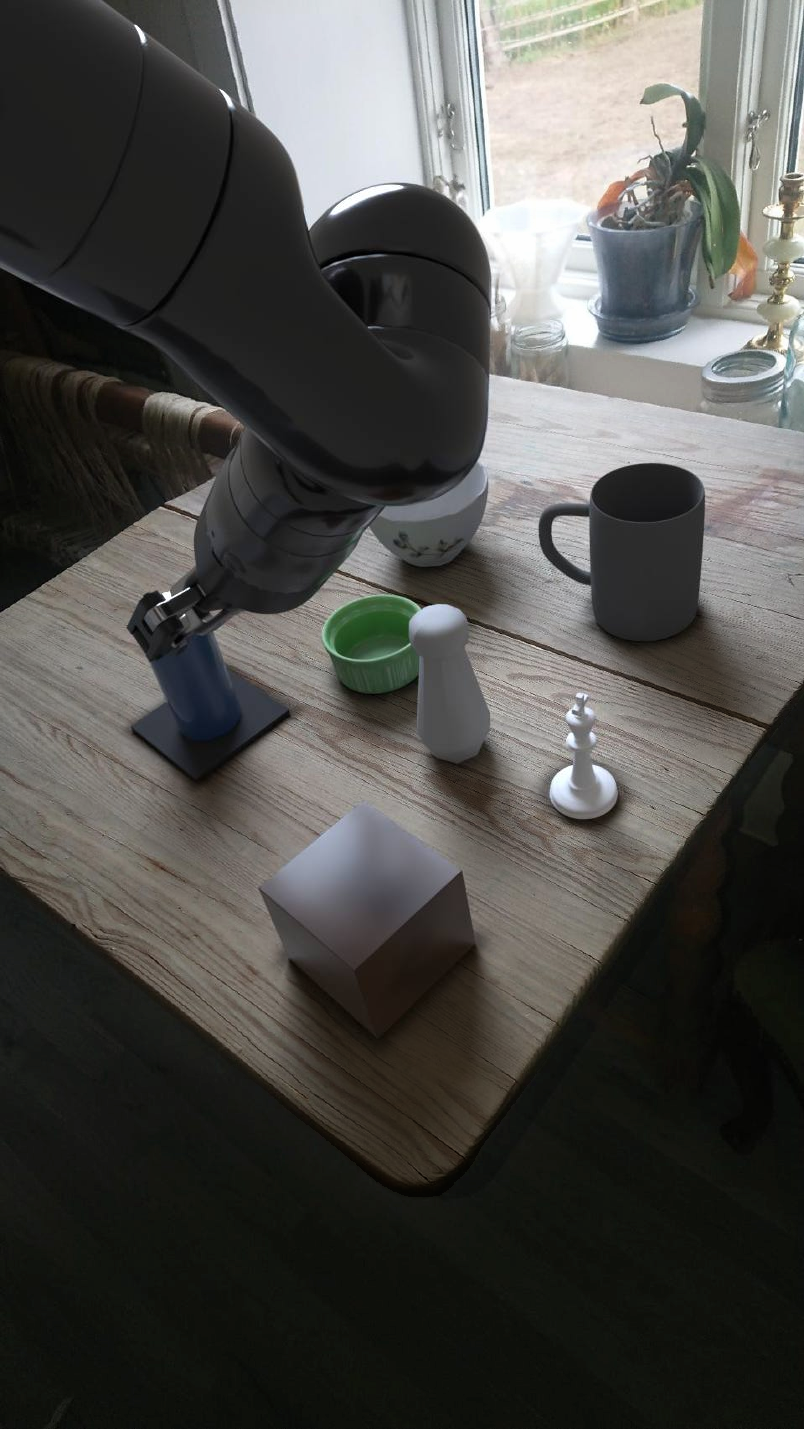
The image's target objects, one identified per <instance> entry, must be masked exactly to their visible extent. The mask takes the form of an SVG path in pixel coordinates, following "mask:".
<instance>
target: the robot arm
mask: <svg viewBox="0 0 804 1429" xmlns="http://www.w3.org/2000/svg"><path fill="white" fill-rule="evenodd" d="M297 172H298V171H297V169H296V166H295V164H294V162H293V159H292V157H291V155H290V153H289V152H288V150H287V149H286V147H285V146H284V143H283V142H282V141H281V140H280V139H279V138H278V136H277V135H276V134H275V133H274V132H273V131H272V130H271V129H270V128H269V127H268V126H267V125H265V123H263V122H262V121H261V120H260V118H258V117H257V116H256V115H254V114H253V113H252V112H251V111H250V110H248V109H247V108H246V107H244V106H243V105H242V104H241V103H240V102H238V101H236V100H235V99H234V98H233V97H232V96H230V95H229V94H228V93H226V92H225V91H224V90H222V89H221V88H219V87H218V86H217V85H216V84H214V83H213V82H212V81H210V80H209V79H208V78H206V77H205V76H204V75H203V74H201V72H198V70H197V69H195V68H193V67H192V66H191V65H190V64H188V63H186V61H184V60H183V59H181V58H180V57H179V56H177V55H176V54H175V53H173V52H172V51H171V50H169V49H168V48H167V47H166V46H164V45H163V44H162V43H160V42H159V41H157V40H156V39H155V38H154V37H153V36H151V35H150V34H148V33H147V32H146V31H144V30H143V29H142V28H140V27H139V26H138V25H136V24H135V23H134V22H132V21H131V20H129V19H128V18H127V17H126V16H124V15H123V14H121V13H120V12H118V10H115V9H114V8H113V7H112V6H111V5H109V4H108V3H106V2H105V1H104V0H0V269H2V270H4V271H6V272H8V273H10V274H12V275H14V276H15V277H17V278H19V279H21V280H22V281H25V282H28V283H29V284H32V285H34V286H36V287H37V288H40V289H41V290H43V291H45V292H47V293H49V294H51V295H53V296H55V297H57V298H59V299H61V300H62V301H65V302H67V303H69V304H71V305H73V306H75V307H77V308H79V309H81V310H83V311H84V312H87V313H89V314H91V315H93V316H95V317H96V318H99V319H101V321H102V320H103V321H104V322H107V323H109V324H110V325H112V326H115V327H116V328H118V329H120V330H122V331H124V332H126V333H128V334H130V335H132V336H134V337H136V338H138V339H140V340H143V341H144V342H146V343H148V344H149V345H152V346H153V347H154V348H155V349H156V350H158V351H159V352H160V353H161V354H162V355H164V356H165V357H166V358H167V359H168V360H169V361H170V362H172V363H173V364H174V365H175V366H176V367H177V368H178V369H179V370H180V371H181V372H182V373H183V374H184V375H185V376H186V377H187V378H188V379H189V380H191V381H192V382H193V383H194V384H195V385H196V386H197V387H198V388H200V389H201V391H203V392H204V393H205V394H207V395H208V396H209V397H210V398H211V399H212V400H214V401H215V402H216V403H217V404H218V405H220V406H221V407H222V408H223V409H224V410H225V411H226V412H227V413H228V414H229V415H231V416H232V417H233V418H234V419H235V420H236V421H237V422H239V424H240V425H242V426H243V429H242V431H241V433H240V436H239V438H238V440H237V443H236V445H235V446H234V447H233V448H232V449H231V451H230V452H229V453H228V454H227V456H226V457H225V458H224V460H223V462H222V464H221V466H220V468H219V469H218V472H217V474H216V476H215V479H214V481H213V483H212V486H211V488H210V491H209V493H208V495H207V497H206V500H205V502H204V504H203V507H202V509H201V511H200V514H199V516H198V518H197V521H196V524H195V526H194V527H195V528H194V532H193V552H194V561H195V565H194V567H192V568H191V569H190V570H189V571H188V572H186V573H185V574H184V575H183V576H182V577H180V579H178V580H177V581H175V583H174V584H172V585H171V586H170V589H169V592H170V594H171V598H170V599H168V600H166V599H165V597H164V596H163V594H162V593H163V592H160V591H159V590H158V589H156V590H155V589H154V590H153V591H151V590H150V591H148V592H146V593H144V594H143V595H142V597H141V598H140V599H139V601H138V602H137V604H136V606H135V609H134V611H133V613H132V615H131V616H130V618H129V621H128V623H127V625H126V627H125V628H126V630H127V631H128V632H129V634H130V635H132V637H133V638H134V640H135V642H137V644H138V645H139V647H140V649H141V650H142V652H143V653H144V656H145V657H146V659H147V661H148V660H149V661H148V663H149V662H152V661H154V660H156V661H158V660H160V659H161V658H162V657H164V656H163V655H166V654H168V653H169V652H170V653H171V654H172V656H174V657H175V656H177V655H179V654H180V653H182V652H184V650H185V649H186V647H187V645H188V644H189V642H190V640H191V639H192V638H193V637H195V636H196V635H197V634H198V635H201V636H203V635H206V634H208V633H211V632H215V631H218V629H219V628H221V627H222V626H223V625H225V624H226V623H227V622H229V621H230V620H231V619H232V618H233V617H235V616H237V615H240V614H242V613H245V612H248V613H252V614H257V615H278V614H283V613H286V612H287V613H288V612H290V611H293V610H295V609H297V608H299V607H301V606H302V605H304V604H306V603H307V602H308V601H310V600H311V598H313V597H314V596H315V595H316V593H317V592H318V591H320V589H321V588H322V587H323V586H324V584H326V582H328V580H329V579H330V578H331V577H332V576H333V575H334V574H335V572H336V571H337V570H338V569H339V568H340V567H341V566H342V564H343V563H345V562H346V560H348V558H349V557H350V556H351V554H352V553H353V551H354V550H355V549H356V547H357V545H358V544H359V542H360V540H361V538H362V536H363V534H364V533H365V531H366V530H367V529H368V528H369V525H370V524H371V523H372V522H373V521H374V520H375V519H376V517H377V516H378V515H379V514H380V513H381V512H382V511H383V510H384V508H385V507H386V506H393V507H395V506H410V505H416V504H419V503H423V502H427V501H430V500H434V499H436V498H438V497H440V496H442V495H444V494H445V493H447V492H449V491H450V490H452V489H454V488H455V487H456V486H458V485H459V484H460V483H461V482H462V481H463V480H464V479H465V478H466V477H467V475H468V474H469V473H470V472H471V471H472V469H473V468H474V466H475V465H476V463H477V461H479V459H480V458H481V454H482V451H483V448H484V446H485V442H486V441H485V440H486V436H487V433H488V432H487V431H488V423H489V406H490V404H489V402H490V370H491V369H490V364H491V363H490V362H491V360H490V359H491V321H492V309H493V308H492V302H493V286H492V285H493V276H492V269H491V262H490V257H489V253H488V250H487V248H486V245H485V242H484V238H483V237H482V235H481V233H480V230H479V229H478V227H477V226H476V224H475V223H474V221H473V220H472V218H471V217H470V216H469V215H468V214H467V213H466V212H465V211H464V209H462V207H460V205H459V204H457V203H456V202H455V201H454V200H453V199H451V198H450V197H448V196H447V195H445V194H444V193H442V192H440V191H438V190H436V189H434V188H430V187H428V186H426V185H421V184H417V183H410V182H384V183H378V184H372V185H369V186H366V187H363V188H361V189H358V190H356V191H353V192H351V193H350V194H347V195H346V196H344V197H342V198H341V199H339V200H338V201H336V202H335V203H333V204H332V205H331V206H330V207H328V208H327V209H326V210H325V211H324V212H323V213H322V214H321V215H320V216H319V217H318V219H316V221H315V222H314V223H313V224H311V226H310V227H309V226H308V220H307V215H306V209H305V205H304V199H303V194H302V189H301V185H300V180H299V176H298V173H297ZM215 611H219V612H217V613H216V614H215V615H213V614H212V613H211V612H215ZM184 614H185V616H186V617H187V619H188V620H189V623H190V625H189V627H188V628H187V629H186V628H185V627H184V625H183V624H182V622H181V621H180V618H181V617H182V616H183V615H184Z"/></svg>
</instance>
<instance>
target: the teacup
mask: <svg viewBox="0 0 804 1429" xmlns="http://www.w3.org/2000/svg"><path fill="white" fill-rule="evenodd" d="M488 495H489V475H488V472H487V468H486V467H485V466H484V465H483V463H482V462H481V461H480V460H478V461H477V463H476V465H475V466H474V468H473V469H472V471H471V472H470V473H469V474H468V475H467V477H466V478H465V479H464V480H463V481H462V482H461V483H460V484H459V485H458V486H456V487H455V488H454V489H452V490H450V491H449V492H447V493H445V494H444V495H442V496H440V497H438V498H436V499H434V500H430V501H427V502H423V503H419V504H416V505H410V506H395V507H393V506H386V507H385V508H384V510H383V511H382V512H381V513H380V514H379V515H378V516H377V517H376V519H375V520H374V521H373V522H372V523H371V524H370V525H369V526H368V528H369V529H370V531H371V532H372V534H373V535H374V537H375V538H376V539H377V541H378V542H380V544H381V545H382V546H383V547H384V548H385V549H387V550H388V551H389V552H390V553H391V554H392V555H394V556H396V557H397V558H400V559H401V560H404V561H405V562H406V563H407V564H410V565H413V566H416V567H420V568H422V567H423V568H427V567H441V566H443V565H445V564H448V563H451V561H453V560H454V559H455V558H456V557H457V556H458V555H459V554H460V553H461V551H462V550H463V549H464V548H465V547H466V546H467V545H468V544H470V542H471V540H472V539H473V538H474V536H475V535H476V533H477V531H478V530H479V528H480V525H481V523H482V521H483V518H484V515H485V511H486V507H487V502H488Z"/></svg>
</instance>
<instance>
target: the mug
mask: <svg viewBox="0 0 804 1429" xmlns="http://www.w3.org/2000/svg"><path fill="white" fill-rule="evenodd" d="M563 516H564V517H582V518H583V517H584V518H588V522H589V525H588V528H589V529H588V530H589V532H588V535H589V569H590V570H589V571H586V570H583V569H581V568H580V567H578V566H576V565H575V564H573V563H572V562H571V561H569V560H568V559H567V558H566V557H565V556H564V555H563V554H562V553H561V552H560V551H559V550H558V549H557V548H556V546H555V544H554V541H553V522H554V520H555V519H556V518H557V517H563ZM705 517H706V490H705V486H704V484H703V482H702V480H701V479H700V478H699V476H697V474H694V473H693V472H691V471H690V470H688V469H687V468H683V467H681V466H678V465H673V464H669V463H663V462H643V463H641V462H640V463H634V464H629V465H624V466H621V467H618V468H616V469H613V470H611V471H609V472H607V473H606V474H604V475H602V476H601V477H600V478H599V479H597V481H596V482H595V483H594V484H593V486H592V488H591V491H590V495H589V503H579V502H578V503H577V502H576V503H575V502H573V503H572V502H567V503H566V502H565V503H555V504H551V505H549V506H547V507H546V508H545V509H544V510H543V511H542V513H541V515H540V517H539V520H538V540H539V547H540V550H541V551H542V554H543V555H544V557H545V558H546V559H547V561H548V562H549V563H550V564H551V565H552V566H554V568H556V569H557V570H558V571H559V572H561V573H562V574H563V575H565V576H566V577H567V578H569V579H571V580H573V581H575V582H576V583H579V584H581V585H586V586H590V594H591V607H592V612H593V617H594V619H595V620H596V622H597V624H598V625H599V626H600V627H601V628H602V629H603V630H604V631H606V632H607V633H608V634H610V635H612V636H614V637H617V638H620V639H622V640H627V641H633V642H654V641H656V642H657V641H661V640H665V639H668V638H671V637H674V636H676V635H678V634H679V633H681V632H683V631H684V630H685V629H687V627H689V625H691V623H692V622H693V620H694V619H695V617H696V614H697V610H698V605H699V597H700V588H701V576H702V565H703V564H702V563H703V552H704V551H703V550H704V536H705V535H704V534H705Z"/></svg>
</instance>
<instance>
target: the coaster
mask: <svg viewBox="0 0 804 1429" xmlns="http://www.w3.org/2000/svg"><path fill="white" fill-rule="evenodd" d="M227 670H228V673H229V675H230V678H231V681H232V684H233V686H234V689H235V692H236V694H237V697H238V700H239V702H240V705H241V709H242V713H241V717H240V720H239V721H238V723H237V724H236V726H235V727H234V728H233V729H232V730H230V731H229V732H228V733H226V734H224V735H223V736H221V737H218V738H215V739H212V740H207V741H195V740H190V739H188V738H186V737H184V736H183V735H182V734H181V733H180V731H179V729H178V727H177V724H176V722H175V720H174V718H173V715H172V713H171V711H170V708H169V706H168V704H167V702H166V701H165V702H164V703H162V704H161V705H159V706H158V707H156V708H155V709H153V710H152V711H151V712H149V713H148V714H146V715H145V716H143V717H142V718H141V719H139V720H137V721H136V722H135V723H133V724H131V726H130V728H131V730H132V731H133V732H134V733H136V734H137V735H138V736H140V738H142V739H143V740H144V741H145V742H147V743H148V744H149V745H151V747H153V748H154V749H155V750H157V751H158V752H159V753H160V754H161V755H163V756H164V757H165V758H167V760H169V761H170V762H171V763H173V765H175V766H176V767H178V769H179V770H181V771H182V772H184V773H185V774H186V775H188V776H189V777H190V778H191V779H192V780H194V781H195V782H196V783H198V782H199V781H201V780H202V779H204V778H205V777H206V776H208V775H209V774H210V773H212V772H213V771H214V770H216V769H217V768H219V766H221V765H222V764H224V763H225V762H226V761H228V760H229V759H231V757H233V756H234V755H236V754H237V753H238V752H240V751H241V750H242V749H244V748H246V747H247V746H248V745H249V744H251V743H252V742H253V741H254V740H256V739H257V738H259V737H260V736H261V735H262V734H264V733H265V732H266V731H268V730H270V729H271V728H272V727H273V726H275V725H276V724H278V723H279V722H280V721H281V720H283V719H284V718H285V717H287V716H288V715H289V714H291V711H290V709H289V708H288V707H286V706H284V704H283V705H282V704H281V703H280V702H278V701H277V700H275V699H274V698H273V697H271V696H270V695H268V694H267V693H264V692H263V691H262V690H261V689H259V688H257V687H256V686H254V685H253V684H251V683H250V682H249V681H247V680H246V679H244V678H243V677H241V676H240V675H238V674H237V673H235V672H234V671H232V670H230V669H229V668H227Z"/></svg>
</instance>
